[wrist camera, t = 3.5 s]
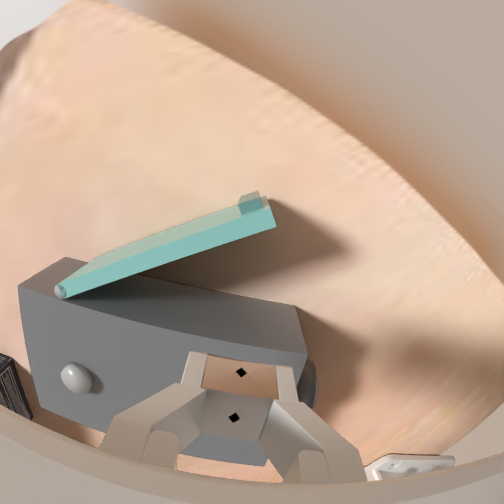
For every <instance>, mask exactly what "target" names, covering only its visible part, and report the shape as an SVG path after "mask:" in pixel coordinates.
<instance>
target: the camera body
mask: <svg viewBox="0 0 504 504" xmlns="http://www.w3.org/2000/svg"><path fill="white" fill-rule="evenodd" d="M86 264H88V263H87V262H83V261H79V260H75V259H71V258H67V257H64V258H63V259H61V260H59V261H58V262H56V263H54V264H52V265H51V266H49V267H47V268H46V269H44V270H42V271H41V272H39V273H37V274H36V275H34V276H32V277H31V278H29V279H27V280H26V281H24V282H23V283H21V284H19V285H18V295H19V304H20V312H21V319H22V326H23V332H24V338H25V344H26V349H27V354H28V359H29V364H30V369H31V373H32V377H33V381H34V385H35V389H36V393H37V397H38V400H39V404H40V407H41V408H43V409H45V410H48V411H50V412H52V413H54V414H57V415H59V416H62V417H64V418H66V419H69V420H71V421H74V422H76V423H79V424H81V425H84V426H87V427H90V428H92V429H95V430H98V431H101V432H104V433H106V432H107V430H108V428H109V426H110V424H111V421H112V419H113V417H114V416H115V415H117V414H119V413H121V412H123V411H125V410H127V409H129V408H131V407H133V406H134V405H136V404H138V403H140V402H142V401H144V400H145V399H147V398H149V397H151V396H153V395H155V394H156V393H158V392H160V391H162V390H163V389H165V388H167V387H169V386H171V385H172V384H174V383H179V384H180V383H181V380H182V376H183V373H184V369H185V366H186V362H187V359H188V356H189V352H190V351H191V350H194V351H199V352H204V353H207V354H208V353H209V354H213V355H218V356H223V357H228V358H233V359H238V360H242V361H248V362H255V363H262V364H270V365H283V366H291V367H292V369H293V374H294V379H295V384H296V389H297V395H298V400H299V402H304V403H305V404H306V405H307V406H308V407H309V408H310V409H312V410H313V409H314V406H315V403H316V399H317V393H318V380H317V376H316V370H315V366H314V363H313V362H312V361H311V360H306V359H307V357H308V352H307V348H306V344H305V341H304V337H303V333H302V330H301V326H300V322H299V319H298V315H297V311H296V308H295V306H293V305H287V304H282V303H276V302H270V301H265V300H259V299H254V298H249V297H243V296H238V295H233V294H228V293H222V292H217V291H212V290H207V289H202V288H198V287H193V286H188V285H183V284H178V283H174V282H169V281H164V280H160V279H155V278H151V277H146V276H142V275H137V274H133V275H130V276H127V277H125V278H122V279H119V280H116V281H113V282H110V283H107V284H104V285H101V286H99V287H96V288H93V289H90V290H87V291H84V292H81V293H79V294H76V295H73V296H70V297H67V298H64V299H60V298H58V297H57V296H56V294H55V291H54V288H55V286H56V285H57V284H59V283H60V282H61V281H63V280H64V279H66V278H67V277H69V276H70V275H71V274H73V273H74V272H76V271H77V270H79V269H80V268H82V267H83V266H85V265H86ZM207 357H208V356H207ZM179 454H184V455H189V456H194V457H199V458H205V459H211V460H217V461H223V462H230V463H237V464H245V465H254V466H265V464H266V462H267V459H268V457H267V456H266V454H265V453H264V451H263V450H262V448H261V447H260V446H259V444H258V442H253V441H246V440H239V439H233V438H226V437H218V436H211V435H204V434H199V436H198V437H197V438H196V439H195V440H194V441H192V442H191V443H190V444H189V445H188V446H187V447H186V448H185V449H184V450H182V451H181V452H180V453H179Z"/></svg>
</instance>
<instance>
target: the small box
mask: <svg viewBox="0 0 504 504" xmlns="http://www.w3.org/2000/svg"><path fill="white" fill-rule="evenodd" d="M0 405H2V406H4V407H6V408H7V409H9V410H11V411H13V412H15V413H17V414H19V415H21V416H23V417H25V418H27V419H29V420H31V419H32V418H33V415H32V413H31V410H30V408H29V405H28V403H27V400H26V398H25V395H24V392H23V390H22V387H21V384H20V381H19V379H18V376H17V373H16V370H15V366H14V363H13V360H12V358H10V357H8V356H5V355H3V354H0Z"/></svg>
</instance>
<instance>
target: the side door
mask: <svg viewBox="0 0 504 504" xmlns="http://www.w3.org/2000/svg"><path fill="white" fill-rule="evenodd" d="M274 227H277V226H276V223H275V220H274V217H273V214H272V211H271V208H270V205H269V203H268V200H267V198H266V196H263V197H260V195H259V192H258V191H255V192H252V193H249V194H246V195H243V196H241V197H240V200H239V202H238V205H236V206H233V207H230V208H227V209H224V210H221V211H218V212H215V213H213V214H210V215H207V216H204V217H201V218H198V219H196V220H193V221H190V222H187V223H184V224H182V225H179V226H176V227H173V228H171V229H168V230H165V231H162V232H160V233H157V234H154V235H152V236H149V237H146V238H144V239H141V240H138V241H136V242H133V243H131V244H128V245H125V246H123V247H120V248H118V249H115V250H112V251H110V252H107V253H105V254H102V255H100V256H98V257H97V258H95V259H94V260H92V261H91V262H89V263H88V264H86V265H85V266H83V267H82V268H80V269H79V270H77V271H76V272H74V273H73V274H71V275H70V276H69V277H67V278H66V279H64V280H63V281H61V282H60V283H59V284H57V285H56V286H55V288H54V291H55V294H56V296H57V297H58V298H60V299H64V298H67V297H70V296H73V295H76V294H79V293H81V292H84V291H87V290H90V289H93V288H96V287H99V286H101V285H104V284H107V283H110V282H113V281H116V280H119V279H122V278H125V277H127V276H130V275H133V274H136V273H139V272H142V271H145V270H148V269H151V268H154V267H157V266H160V265H163V264H166V263H168V262H171V261H174V260H177V259H180V258H183V257H186V256H189V255H192V254H195V253H198V252H201V251H204V250H207V249H210V248H213V247H216V246H219V245H222V244H225V243H228V242H231V241H234V240H237V239H241V238H244V237H247V236H250V235H253V234H256V233H259V232H262V231H265V230H268V229H271V228H274Z"/></svg>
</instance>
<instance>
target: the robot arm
mask: <svg viewBox="0 0 504 504" xmlns="http://www.w3.org/2000/svg"><path fill="white" fill-rule="evenodd" d="M207 356H208V357H207ZM199 434H204V435H211V436H218V437H226V438H233V439H239V440H246V441H253V442H258V444H259V446H260V447H261V448H262V450H263V451H264V453H265V454H266V456H267V457H268V458H269V460H270V461H271V463H272V464H273V465H274V467H275V468H276V470H277V471H278V472H279V474H280V475H281V476H282V478H283V479H284V480H283V482H282V483H267V482H254V481H244V480H234V479H226V478H219V477H212V476H206V475H200V474H194V473H189V472H184V471H179V470H177V460H178V454H179V453H180V452H181V451H182V450H184V449H185V448H186V447H187V446H188V445H189V444H190V443H191V442H192V441H194V440H195V439H196V438H197V437H198V436H199ZM454 463H455V459H454V457H453V456H420V455H398V454H389V455H386V456H384V457H382V458H380V459H378V460H377V461H375V462H373V463H372V464H370V465H369V466H367V467H363V464H362V461H361V457H360V454H359V451H358V449H357V448H355V447H354V446H353V445H352V444H351V443H349V442H348V441H347V440H346V439H345V438H344V437H342V436H341V435H340V434H339V433H338V432H337V431H335V430H334V429H333V428H332V427H331V426H330V425H328V424H327V423H326V422H325V421H324V420H323V419H322V418H321V417H319V416H318V415H317V414H316V413H315V412H314V411H313V410H312V409H310V408H309V407H308V406H307V405H306V404H305V403H304V402H299V400H298V395H297V389H296V384H295V379H294V374H293V369H292V367H291V366H283V365H270V364H262V363H255V362H248V361H242V360H238V359H233V358H228V357H223V356H218V355H213V354H209V353H208V354H207V353H204V352H199V351H194V350H191V351H190V352H189V356H188V359H187V362H186V366H185V369H184V373H183V376H182V380H181V383H180V384H179V383H174V384H172V385H171V386H169V387H167V388H165V389H163V390H162V391H160V392H158V393H156V394H155V395H153V396H151V397H149V398H147V399H145V400H144V401H142V402H140V403H138V404H136V405H134V406H133V407H131V408H129V409H127V410H125V411H123V412H121V413H119V414H117V415H115V416H114V417H113V419H112V421H111V424H110V426H109V428H108V430H107V432H106V434H105V436H104V439H103V441H102V443H101V445H100V447H99V449H98V448H95V447H93V446H90V445H87V444H84V443H82V442H79V441H76V440H74V439H71V438H69V437H66V436H64V435H62V434H59V433H57V432H55V431H52V430H50V429H48V428H45V427H43V426H41V425H39V424H37V423H35V422H33V421H31V420H29V419H27V418H25V417H23V416H21V415H19V414H17V413H15V412H13V411H11V410H9V409H7V408H6V407H4V406H2V405H0V504H504V452H503V453H500V454H497V455H494V456H491V457H488V458H484V459H481V460H478V461H474V462H471V463H468V464H463V465H459V466H456V467H453V466H454Z"/></svg>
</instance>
